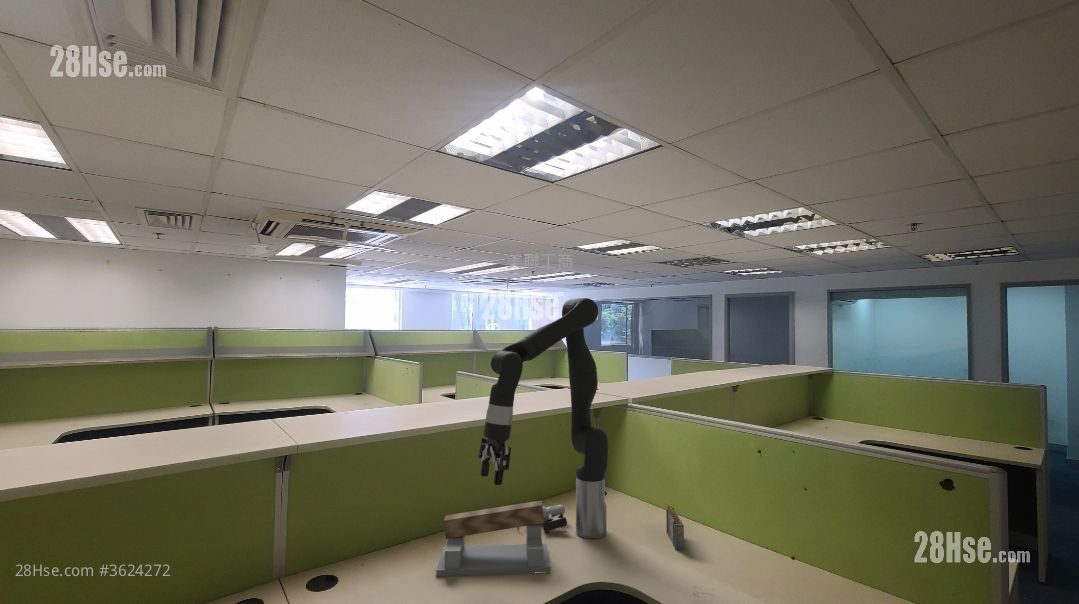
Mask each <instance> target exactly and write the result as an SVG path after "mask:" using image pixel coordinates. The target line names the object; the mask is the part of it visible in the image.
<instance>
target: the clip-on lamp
mask: <svg viewBox="0 0 1079 604" xmlns="http://www.w3.org/2000/svg"><path fill="white" fill-rule="evenodd" d="M542 506H543V514H544V522H545V523H541V526H542V528H543V531H544V532H545V533H547V534H550V533H551V531H553V530H556V529H558V528H562V527H563V528H564V527H566V526H567V525H568V521H567V518H566V517H564V514H565V512H566V508H565V505H563V504H561V503H559V504H555V505H550V506H547V507H546V506H544V505H542Z"/></svg>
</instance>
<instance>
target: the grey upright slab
mask: <svg viewBox="0 0 1079 604" xmlns="http://www.w3.org/2000/svg"><path fill="white" fill-rule="evenodd" d="M664 505H665V506H666V507H667V509H666V512H665V516H666V534H667V536H668V539H669V540H670V542H671V543H672V546H673V548H674V549H673V550H675V551H685V529H684V528H685V526H684V523H683V521H682V520H681V517H679V515H678V513H677V512H676V510H675V507H674V506H672V505H669V504H667V503H666V502H665V503H664Z"/></svg>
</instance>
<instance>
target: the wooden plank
mask: <svg viewBox="0 0 1079 604" xmlns="http://www.w3.org/2000/svg"><path fill="white" fill-rule="evenodd" d="M542 502H543V501H542V500H535V501H529V502H522V503H516V504H511V505H503V506H498V507H497V506H496V507H491V508H484V509H479V510H478V509H477V510H473V511H472V510H471V511H465V512H460V513H453V514H447V515H445V516H444V519H443V525H444V527H443V528H444V535H445V539H446V540H447V539H449V538H455V537H461V536H465V537H466V536H471V535H478V534H484V533H490V532H497V531H502V530H503V531H504V530H509V529H514V528H515V529H516V528H522V527H526V526H528V525H535V524H541V525H542V523H545V522H544V514H543V506H544V505H543V503H542Z"/></svg>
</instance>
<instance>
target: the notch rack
mask: <svg viewBox="0 0 1079 604" xmlns="http://www.w3.org/2000/svg"><path fill="white" fill-rule="evenodd" d="M525 527H526V531H525V532H526V533H525V535H526V536H525V537H526V539H525V540H526V543H523V544H522V543H521V544H518V543H517V544H487V545H486V544H484V545H483V544H481V545H480V544H479V545H477V544H476V545H465V543H466V542H465V537H466V536H461V537H455V538H448V540H447V543H446V545H444V546H442V547H443V548H442V551H441V555H440V558H439V560H438V564H437V567H436V571H435V573H436V575H435V576H436V577H454V576H456V577H457V576H459V577H460V576H489V575H490V576H492V575H498V576H499V575H521V574H522V575H527V574H526V573H533V574H536V573H535V572H552V571H551V569H552V567H551V561H550V554H549V550H548V545H547V543H543V538H542V537H543V536H542V528H543V526H542V523H541V524H535V525H528V526H525Z"/></svg>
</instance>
